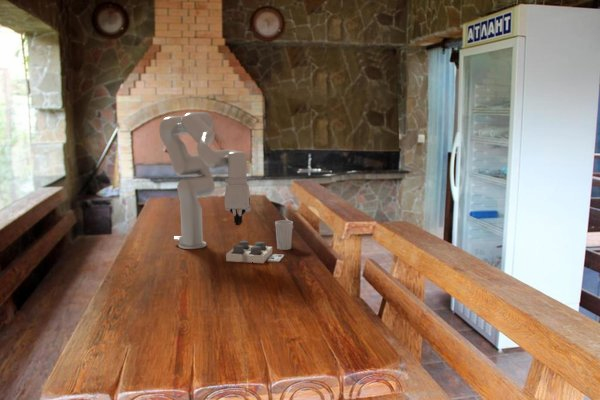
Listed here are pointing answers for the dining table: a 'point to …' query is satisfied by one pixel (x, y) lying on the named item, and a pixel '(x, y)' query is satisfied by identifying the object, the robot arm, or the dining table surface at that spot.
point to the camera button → (238, 249)
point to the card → (275, 258)
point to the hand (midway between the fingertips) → (238, 224)
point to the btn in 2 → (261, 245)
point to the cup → (284, 234)
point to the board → (249, 256)
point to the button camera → (255, 250)
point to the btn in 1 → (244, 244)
